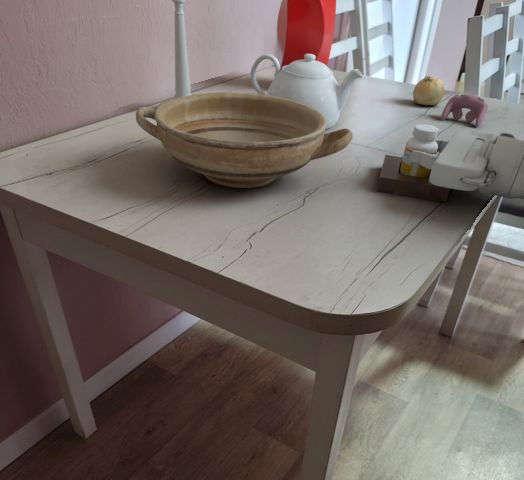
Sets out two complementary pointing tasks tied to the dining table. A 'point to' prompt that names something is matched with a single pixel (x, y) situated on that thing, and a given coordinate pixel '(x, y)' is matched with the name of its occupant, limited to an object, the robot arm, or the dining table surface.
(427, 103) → the onion
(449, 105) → the video game controller
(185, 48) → the candlestick
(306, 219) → the dining table surface
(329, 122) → the teapot
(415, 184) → the socket
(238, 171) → the ceramic bowl
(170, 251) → the dining table surface
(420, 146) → the supplement bottle
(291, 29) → the vase
